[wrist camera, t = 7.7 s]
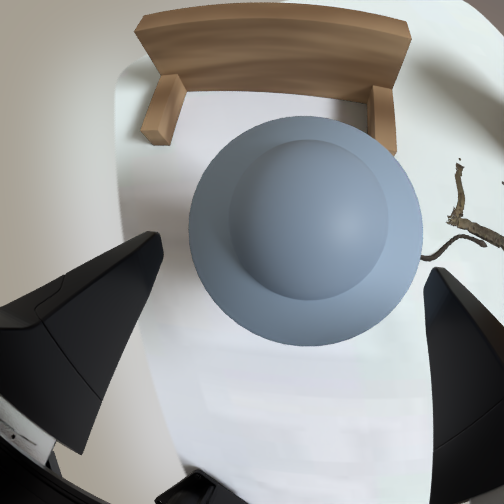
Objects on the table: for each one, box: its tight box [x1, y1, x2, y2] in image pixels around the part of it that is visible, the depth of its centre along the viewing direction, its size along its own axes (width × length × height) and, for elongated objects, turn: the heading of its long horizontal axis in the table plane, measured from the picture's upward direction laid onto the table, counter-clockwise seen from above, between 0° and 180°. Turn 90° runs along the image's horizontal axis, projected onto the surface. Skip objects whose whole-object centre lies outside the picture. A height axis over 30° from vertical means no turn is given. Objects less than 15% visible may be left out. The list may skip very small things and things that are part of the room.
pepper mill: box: [188, 116, 423, 346], centre depth 12 cm, size 5×5×15 cm
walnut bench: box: [134, 3, 412, 157], centre depth 17 cm, size 8×18×8 cm, turn 81°
